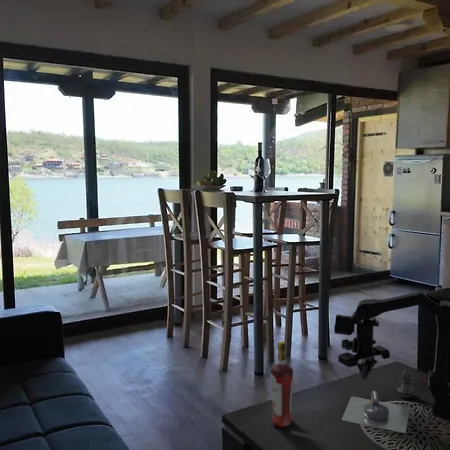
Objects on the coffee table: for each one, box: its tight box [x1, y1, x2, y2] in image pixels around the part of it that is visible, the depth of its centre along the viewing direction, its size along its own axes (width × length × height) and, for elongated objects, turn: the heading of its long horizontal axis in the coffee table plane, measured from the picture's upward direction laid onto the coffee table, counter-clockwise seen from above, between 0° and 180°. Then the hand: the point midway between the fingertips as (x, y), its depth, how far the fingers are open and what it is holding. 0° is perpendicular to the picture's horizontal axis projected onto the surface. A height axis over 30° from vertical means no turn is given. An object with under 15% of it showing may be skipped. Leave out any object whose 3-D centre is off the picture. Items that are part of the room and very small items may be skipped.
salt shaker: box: [397, 367, 415, 399], centre depth 174 cm, size 6×6×12 cm
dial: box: [364, 390, 389, 421], centre depth 164 cm, size 14×8×4 cm, turn 167°
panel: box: [341, 396, 411, 434], centre depth 163 cm, size 20×18×1 cm
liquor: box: [270, 340, 294, 428], centre depth 158 cm, size 7×7×28 cm
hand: (363, 379), depth 169 cm, fingers closed
